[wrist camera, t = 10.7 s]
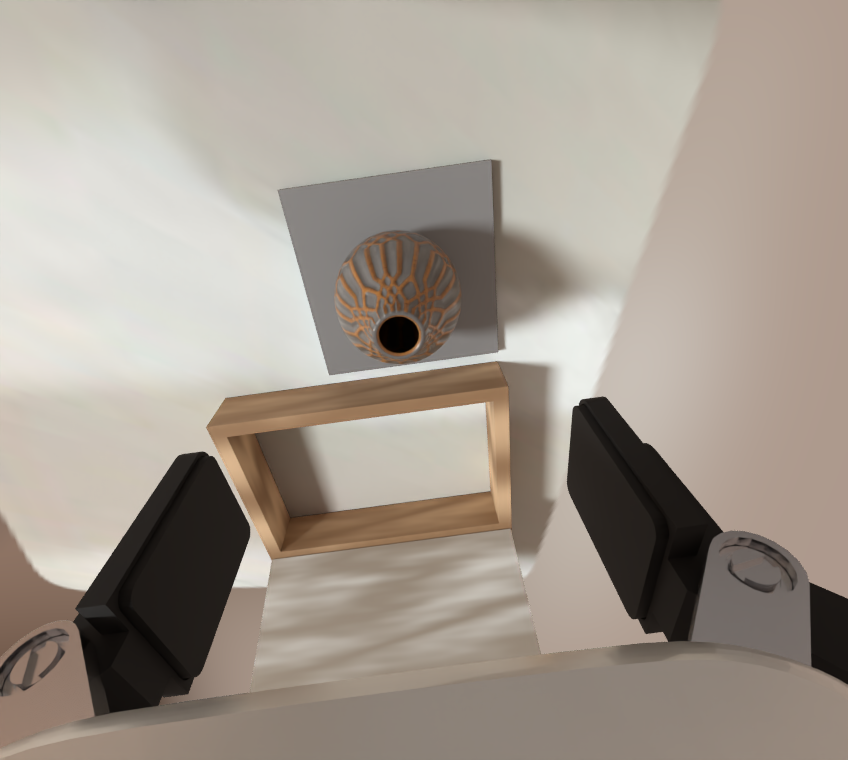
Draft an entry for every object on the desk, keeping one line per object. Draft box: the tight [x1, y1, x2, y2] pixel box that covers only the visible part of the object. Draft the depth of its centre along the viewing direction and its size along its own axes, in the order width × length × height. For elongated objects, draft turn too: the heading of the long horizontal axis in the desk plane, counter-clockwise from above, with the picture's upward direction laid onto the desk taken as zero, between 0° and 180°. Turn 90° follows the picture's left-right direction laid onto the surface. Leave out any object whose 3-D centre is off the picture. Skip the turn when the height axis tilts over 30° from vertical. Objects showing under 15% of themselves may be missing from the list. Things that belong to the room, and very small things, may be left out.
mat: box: [278, 160, 498, 375], centre depth 26 cm, size 12×12×1 cm
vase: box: [334, 230, 462, 364], centre depth 22 cm, size 7×7×9 cm
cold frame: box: [206, 361, 541, 692], centre depth 27 cm, size 19×20×17 cm
